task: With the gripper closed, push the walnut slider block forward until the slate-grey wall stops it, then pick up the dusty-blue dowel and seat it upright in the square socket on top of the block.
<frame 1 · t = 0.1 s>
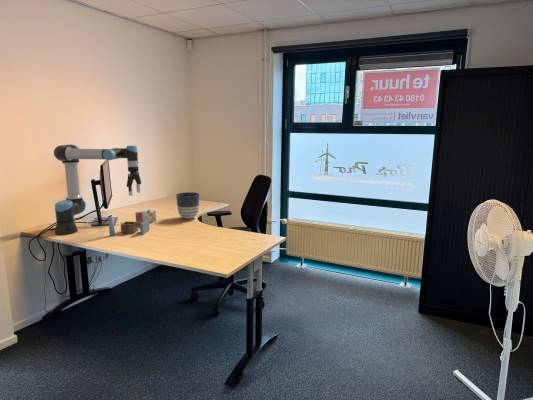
hand: (134, 194, 285), 28 cm above the table, fingers open, 13 cm apart
planter: (188, 218, 326), on the table
stack of blocks: (146, 224, 307), on the table
wall: (145, 232, 282), on the table
dowel: (112, 235, 273), on the table
slider block: (129, 227, 282), point 4 cm above the table, slide at 0.0 cm
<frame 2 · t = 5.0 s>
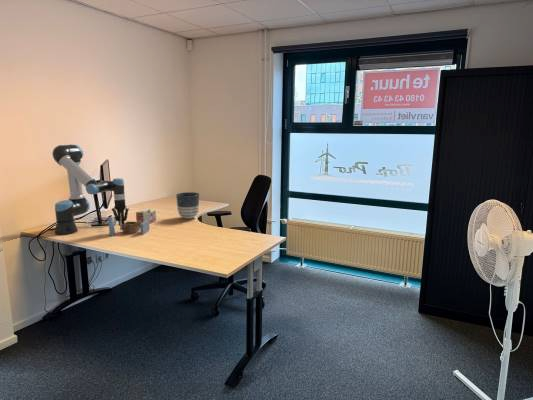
hand: (121, 229, 283), 2 cm above the table, fingers closed
slider block: (130, 227, 282), point 4 cm above the table, slide at 1.1 cm, touching gripper
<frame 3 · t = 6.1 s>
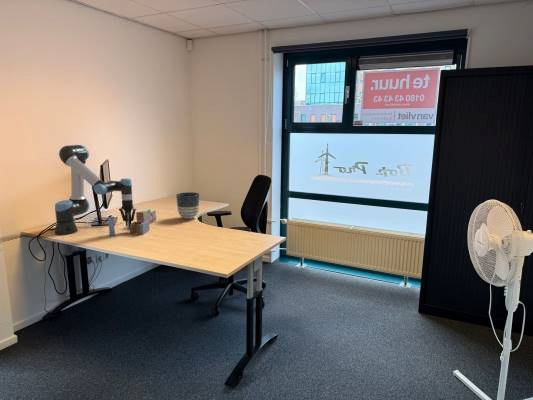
hand: (129, 229, 282), 2 cm above the table, fingers closed
slider block: (137, 227, 282), point 4 cm above the table, slide at 6.5 cm, touching gripper, wall
everything else where it was.
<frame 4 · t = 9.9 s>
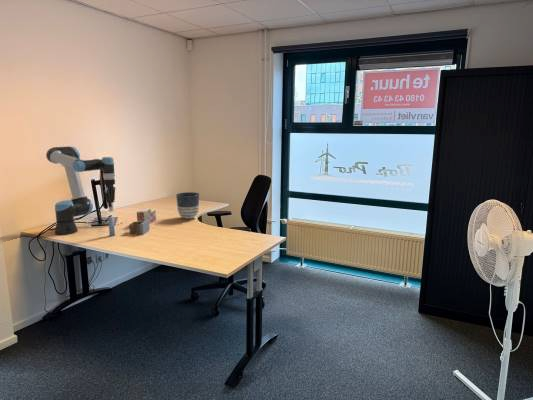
hand: (111, 211, 270), 18 cm above the table, fingers closed
slider block: (137, 227, 282), point 4 cm above the table, slide at 6.5 cm
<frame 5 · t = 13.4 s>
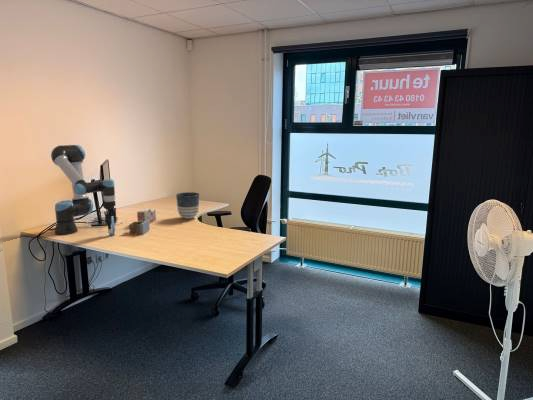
hand: (111, 232, 273), 3 cm above the table, fingers closed on dowel, 3 cm apart
dowel: (112, 234, 273), on the table, touching gripper
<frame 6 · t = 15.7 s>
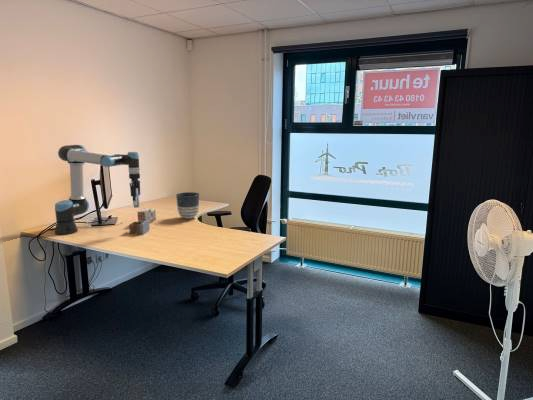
hand: (136, 204, 278), 22 cm above the table, fingers closed on dowel, 3 cm apart
dowel: (136, 207, 278), point 20 cm above the table, touching gripper
when the fingers open (8 cm above the table, at t = 18.5 s): dowel drops 2 cm, resting on slider block.
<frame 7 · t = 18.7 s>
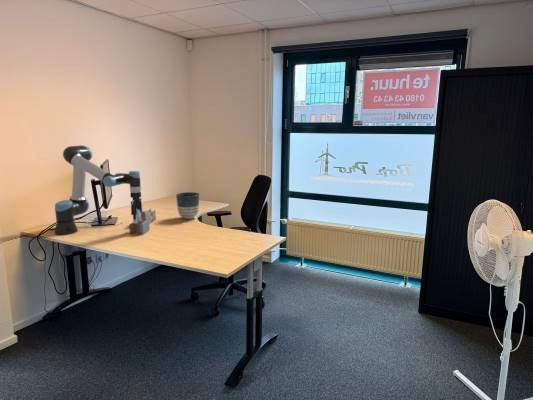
hand: (137, 222, 281), 8 cm above the table, fingers open, 7 cm apart
dowel: (137, 228, 282), point 3 cm above the table, touching slider block
slider block: (137, 227, 282), point 4 cm above the table, slide at 6.5 cm, touching dowel
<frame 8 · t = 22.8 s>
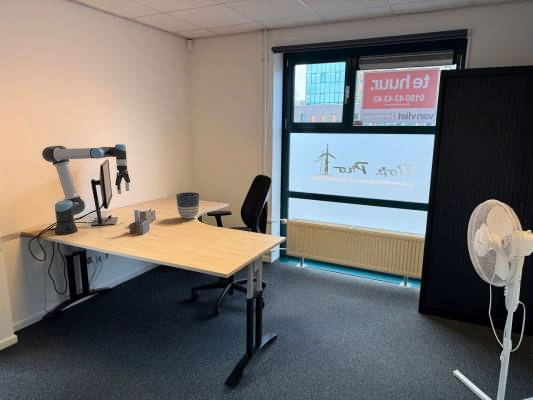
hand: (123, 192, 286), 29 cm above the table, fingers open, 13 cm apart
at the end: slider block slide at 6.5 cm; dowel 0.1 cm from the target spot, point 3.0 cm above the table; dowel tilted 1° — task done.
